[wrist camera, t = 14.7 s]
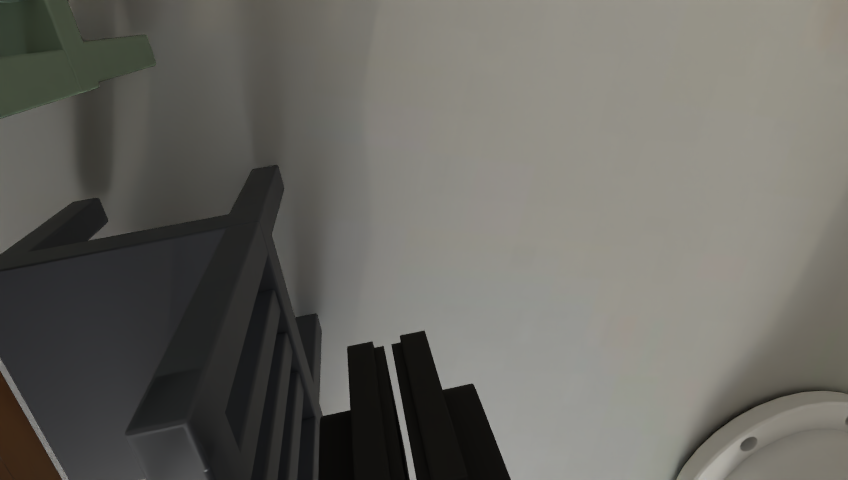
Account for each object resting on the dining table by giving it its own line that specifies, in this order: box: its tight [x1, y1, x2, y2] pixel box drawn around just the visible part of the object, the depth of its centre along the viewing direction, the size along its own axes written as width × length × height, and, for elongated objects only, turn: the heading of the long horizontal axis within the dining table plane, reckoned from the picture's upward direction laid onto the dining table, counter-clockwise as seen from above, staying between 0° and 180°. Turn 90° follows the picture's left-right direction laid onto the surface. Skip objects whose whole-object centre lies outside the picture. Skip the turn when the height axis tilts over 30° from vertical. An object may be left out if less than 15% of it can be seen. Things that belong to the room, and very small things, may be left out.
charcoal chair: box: [0, 165, 323, 480], centre depth 14 cm, size 7×7×13 cm
